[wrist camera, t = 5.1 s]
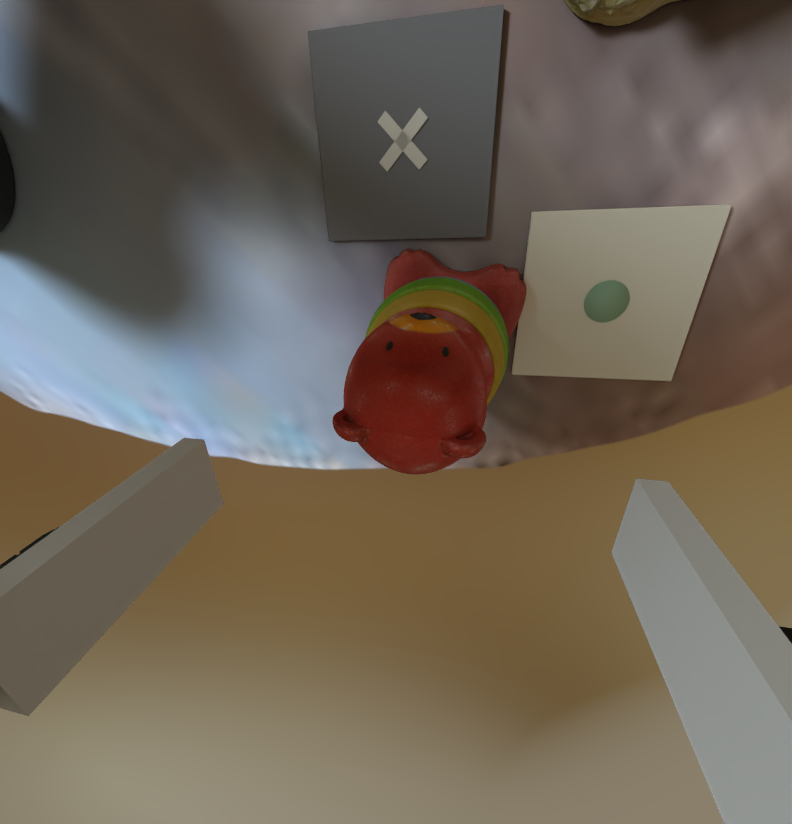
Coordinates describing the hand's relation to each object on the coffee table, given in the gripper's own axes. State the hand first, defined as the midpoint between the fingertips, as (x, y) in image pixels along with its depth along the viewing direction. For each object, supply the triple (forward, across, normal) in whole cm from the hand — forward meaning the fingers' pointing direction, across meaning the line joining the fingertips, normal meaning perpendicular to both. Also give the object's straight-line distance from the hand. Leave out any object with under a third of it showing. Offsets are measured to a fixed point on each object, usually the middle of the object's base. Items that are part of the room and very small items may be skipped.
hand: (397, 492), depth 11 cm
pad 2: (+22, +12, +2) cm, 25 cm away
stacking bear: (+21, 0, 0) cm, 21 cm away
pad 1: (+21, -3, +13) cm, 25 cm away
